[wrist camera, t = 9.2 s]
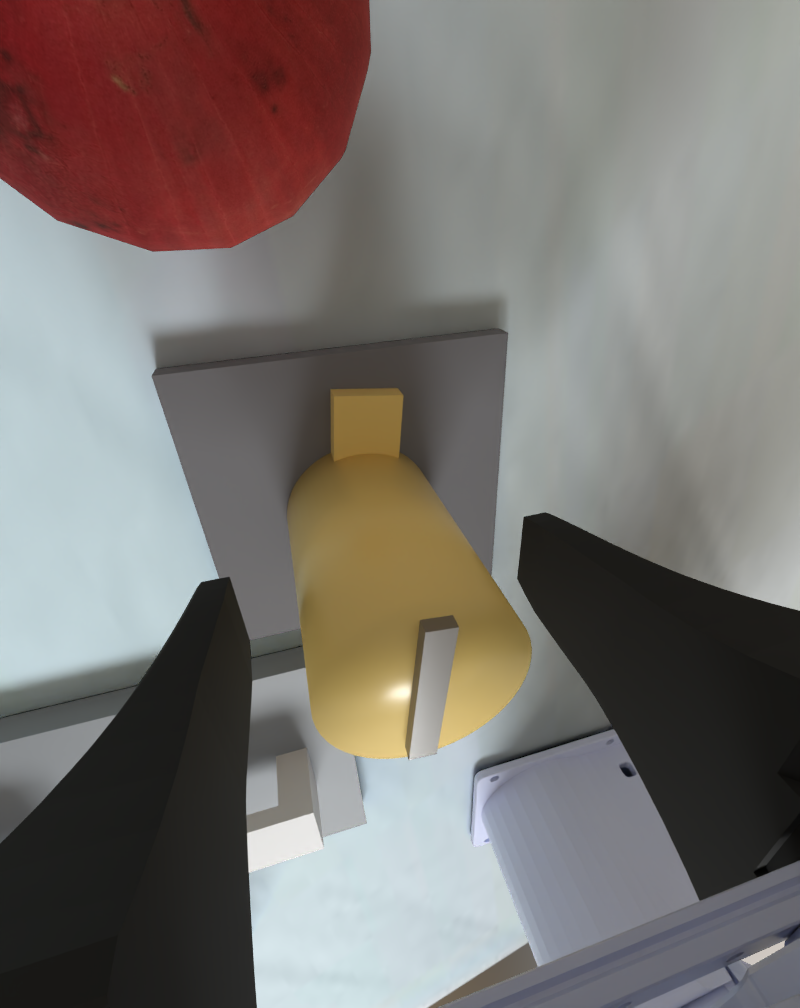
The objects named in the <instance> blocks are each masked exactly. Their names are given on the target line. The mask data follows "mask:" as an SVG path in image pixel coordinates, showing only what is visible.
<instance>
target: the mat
mask: <svg viewBox="0 0 800 1008" xmlns="http://www.w3.org/2000/svg"><path fill="white" fill-rule="evenodd" d="M507 339H508V333H507V332H505V331H502V330H500V329H490V330H482V331H473V332H465V333H457V334H448V335H440V336H431V337H423V338H414V339H406V340H397V341H389V342H380V343H372V344H363V345H355V346H346V347H338V348H329V349H321V350H312V351H304V352H295V353H287V354H278V355H270V356H262V357H253V358H245V359H236V360H228V361H219V362H211V363H202V364H194V365H185V366H177V367H168V368H160V369H156V370H155V371H154V373H153V375H152V378H153V381H154V384H155V387H156V390H157V393H158V396H159V399H160V402H161V405H162V408H163V411H164V414H165V417H166V420H167V423H168V426H169V429H170V432H171V435H172V438H173V441H174V444H175V447H176V450H177V453H178V456H179V459H180V462H181V465H182V468H183V471H184V474H185V477H186V480H187V483H188V486H189V489H190V492H191V495H192V498H193V501H194V504H195V507H196V510H197V513H198V516H199V519H200V522H201V525H202V528H203V531H204V534H205V537H206V540H207V543H208V546H209V549H210V552H211V555H212V558H213V561H214V564H215V567H216V570H217V573H218V576H219V579H220V578H225V577H230V579H231V582H232V586H233V589H234V592H235V595H236V598H237V601H238V605H239V608H240V611H241V614H242V617H243V620H244V623H245V627H246V630H247V633H248V636H249V639H250V640H254V639H258V638H263V637H267V636H271V635H275V634H280V633H284V632H288V631H293V630H297V629H301V627H300V619H299V611H298V603H297V594H296V586H295V578H294V570H293V562H292V554H291V546H290V538H289V530H288V522H287V507H288V501H289V498H290V495H291V492H292V490H293V488H294V486H295V484H296V482H297V481H298V479H299V478H300V476H301V475H302V474H303V473H304V472H305V471H306V470H307V469H308V468H309V467H310V466H311V465H312V464H313V463H315V462H316V461H317V460H319V459H320V458H322V457H323V456H325V455H327V454H329V453H331V395H330V389H372V388H398V389H399V390H400V392H401V393H402V394H403V409H402V423H401V436H400V450H399V452H400V453H402V454H404V455H405V456H407V457H408V458H409V459H411V460H412V461H413V462H414V463H415V464H416V465H417V466H418V467H419V469H420V470H421V472H422V473H423V475H424V476H425V478H426V479H427V481H428V482H429V484H430V485H431V487H432V488H433V490H434V491H435V493H436V494H437V496H438V497H439V499H440V500H441V502H442V503H443V505H444V506H445V508H446V509H447V511H448V512H449V514H450V515H451V517H452V518H453V520H454V521H455V523H456V524H457V526H458V527H459V529H460V530H461V532H462V533H463V535H464V536H465V538H466V539H467V541H468V542H469V544H470V545H471V547H472V548H473V550H474V551H475V553H476V554H477V556H478V557H479V559H480V560H481V562H482V563H483V565H484V566H485V568H486V569H487V571H488V572H489V574H490V575H491V573H492V559H493V544H494V529H495V515H496V500H497V485H498V471H499V456H500V442H501V427H502V412H503V398H504V383H505V368H506V354H507Z"/></svg>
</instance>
